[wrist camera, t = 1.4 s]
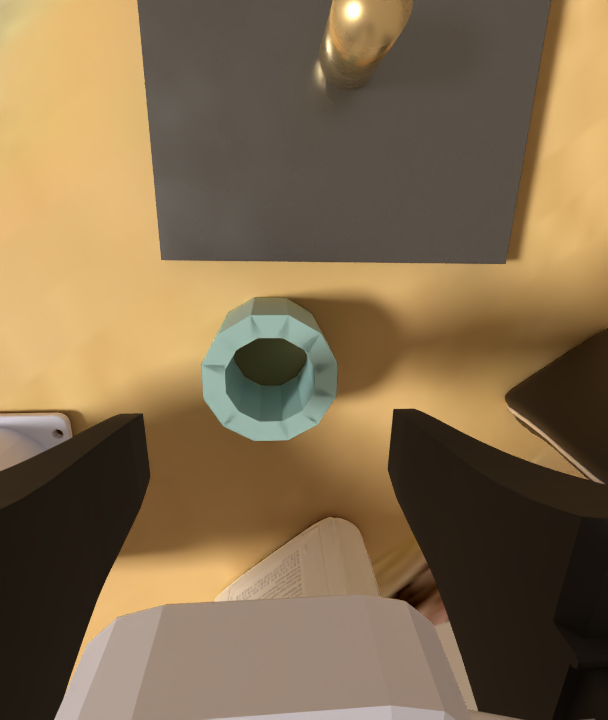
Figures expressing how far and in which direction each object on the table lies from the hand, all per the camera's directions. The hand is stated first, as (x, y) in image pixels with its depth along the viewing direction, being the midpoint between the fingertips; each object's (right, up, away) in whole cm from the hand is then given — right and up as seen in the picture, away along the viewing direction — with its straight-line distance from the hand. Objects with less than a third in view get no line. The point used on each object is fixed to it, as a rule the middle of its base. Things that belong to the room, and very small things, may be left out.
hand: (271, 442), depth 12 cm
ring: (-1, +3, +8) cm, 9 cm away
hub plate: (+3, +14, +5) cm, 15 cm away
